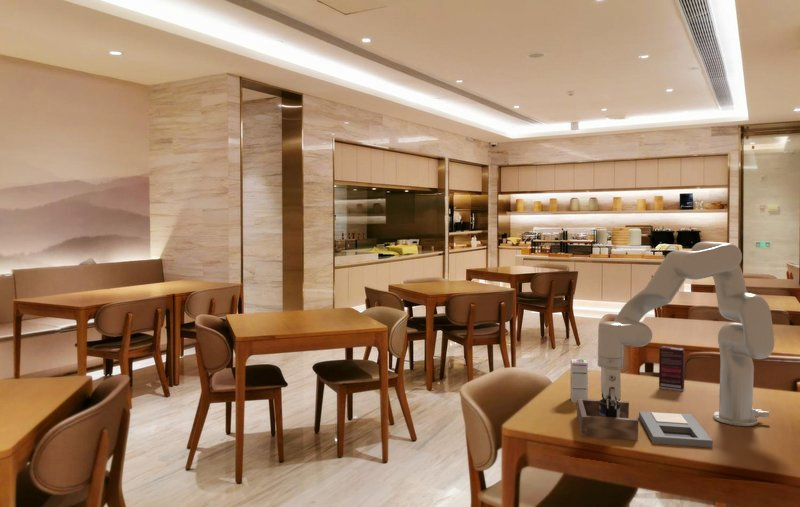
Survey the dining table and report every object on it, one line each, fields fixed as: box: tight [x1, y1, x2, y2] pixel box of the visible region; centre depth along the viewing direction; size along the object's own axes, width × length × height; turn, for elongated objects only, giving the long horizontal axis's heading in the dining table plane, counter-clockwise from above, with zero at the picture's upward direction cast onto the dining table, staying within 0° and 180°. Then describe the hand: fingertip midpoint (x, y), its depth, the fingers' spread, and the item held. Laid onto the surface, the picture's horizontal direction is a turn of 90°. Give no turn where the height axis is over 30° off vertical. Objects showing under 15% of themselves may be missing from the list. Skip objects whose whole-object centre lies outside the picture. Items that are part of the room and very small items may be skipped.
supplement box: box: [658, 345, 686, 392], centre depth 236 cm, size 9×5×16 cm, turn 58°
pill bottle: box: [599, 392, 620, 418], centre depth 193 cm, size 6×6×11 cm
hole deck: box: [638, 410, 714, 448], centre depth 190 cm, size 16×24×2 cm, turn 168°
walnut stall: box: [576, 398, 639, 441], centre depth 193 cm, size 16×19×6 cm
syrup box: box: [570, 358, 589, 404], centre depth 221 cm, size 6×6×14 cm
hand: (609, 416), depth 193 cm, fingers open, 8 cm apart
